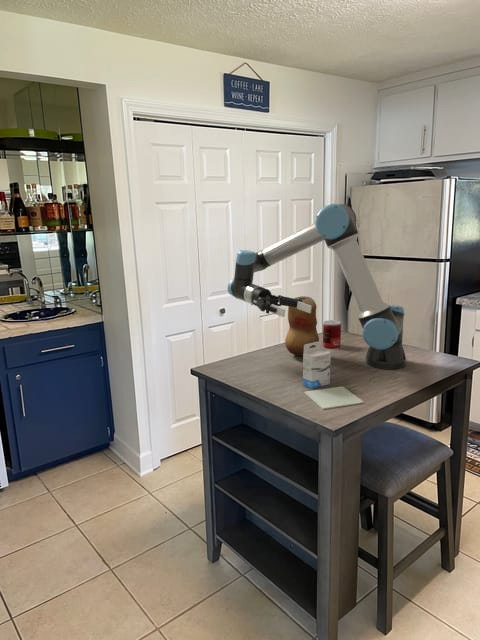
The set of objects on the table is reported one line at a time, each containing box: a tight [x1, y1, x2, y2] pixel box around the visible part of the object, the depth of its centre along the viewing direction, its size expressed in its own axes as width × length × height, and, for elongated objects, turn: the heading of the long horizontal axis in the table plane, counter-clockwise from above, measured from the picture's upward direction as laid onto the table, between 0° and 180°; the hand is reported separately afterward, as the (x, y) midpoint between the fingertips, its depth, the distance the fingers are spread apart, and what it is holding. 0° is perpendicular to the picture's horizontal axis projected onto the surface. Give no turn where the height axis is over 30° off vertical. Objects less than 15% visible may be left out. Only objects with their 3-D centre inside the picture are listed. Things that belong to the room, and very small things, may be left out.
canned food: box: [322, 319, 342, 350], centre depth 204 cm, size 8×8×11 cm
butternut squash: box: [285, 296, 320, 358], centre depth 190 cm, size 14×13×25 cm
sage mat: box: [303, 386, 365, 410], centre depth 150 cm, size 14×14×1 cm
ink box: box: [302, 340, 332, 390], centre depth 160 cm, size 8×5×15 cm, turn 123°
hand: (297, 311), depth 164 cm, fingers open, 13 cm apart
